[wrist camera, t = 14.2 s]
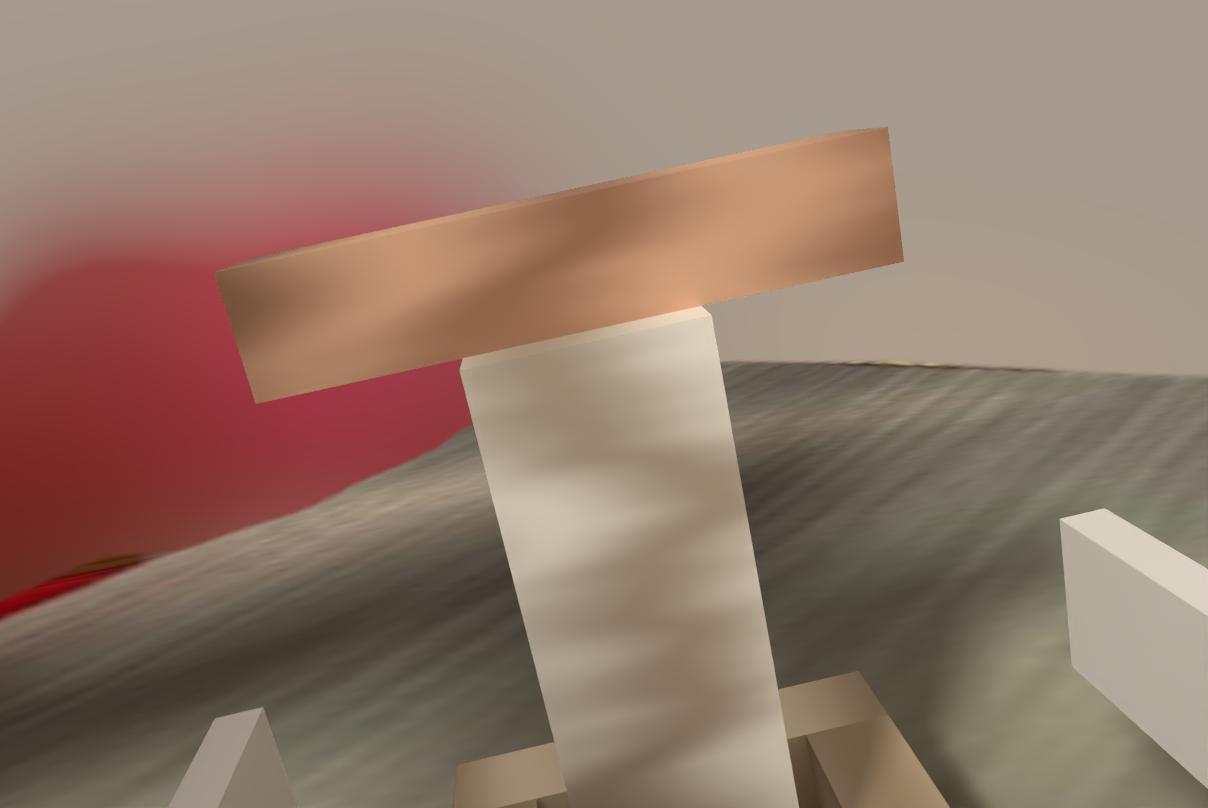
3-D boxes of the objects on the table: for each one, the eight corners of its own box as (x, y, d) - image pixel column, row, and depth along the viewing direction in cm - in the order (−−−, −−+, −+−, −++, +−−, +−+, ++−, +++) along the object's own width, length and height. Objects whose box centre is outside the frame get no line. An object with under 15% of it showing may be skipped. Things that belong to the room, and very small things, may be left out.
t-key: (478, 1154, 21) (194, 280, 15) (486, 983, 25) (266, 252, 20) (1013, 1026, 21) (909, 126, 16) (930, 879, 25) (828, 131, 20)
